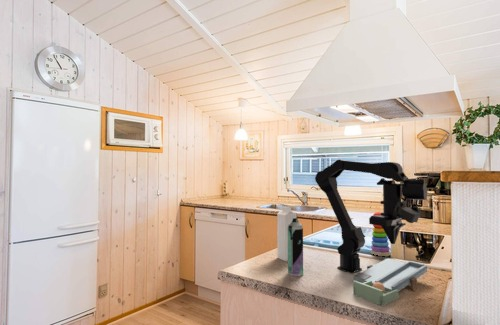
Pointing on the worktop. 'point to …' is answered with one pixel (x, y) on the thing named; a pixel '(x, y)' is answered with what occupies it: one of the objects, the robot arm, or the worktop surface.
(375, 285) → the ball
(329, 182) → the robot arm
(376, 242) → the stacking toy
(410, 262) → the grey flat rectangular piece
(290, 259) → the spray can
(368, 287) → the tray
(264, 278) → the worktop surface
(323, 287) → the worktop surface
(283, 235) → the milk
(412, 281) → the stand
